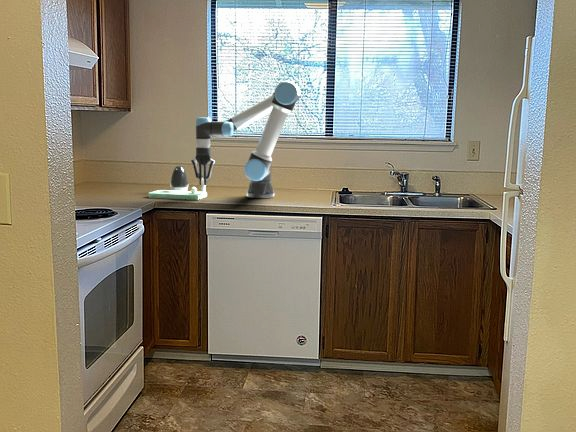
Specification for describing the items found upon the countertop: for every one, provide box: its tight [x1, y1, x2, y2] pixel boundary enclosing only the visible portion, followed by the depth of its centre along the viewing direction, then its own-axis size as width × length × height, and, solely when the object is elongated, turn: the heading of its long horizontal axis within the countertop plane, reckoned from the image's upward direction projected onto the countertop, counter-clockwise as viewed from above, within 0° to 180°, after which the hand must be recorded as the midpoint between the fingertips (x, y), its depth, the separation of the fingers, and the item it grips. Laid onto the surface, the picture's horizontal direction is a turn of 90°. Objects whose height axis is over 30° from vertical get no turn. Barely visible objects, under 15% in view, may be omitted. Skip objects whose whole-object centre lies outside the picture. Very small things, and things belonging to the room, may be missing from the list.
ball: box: [189, 186, 198, 193], centre depth 318 cm, size 3×3×3 cm
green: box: [147, 189, 208, 201], centre depth 320 cm, size 28×14×2 cm, turn 78°
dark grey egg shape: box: [169, 165, 190, 191], centre depth 336 cm, size 10×10×15 cm
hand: (203, 191), depth 316 cm, fingers closed
